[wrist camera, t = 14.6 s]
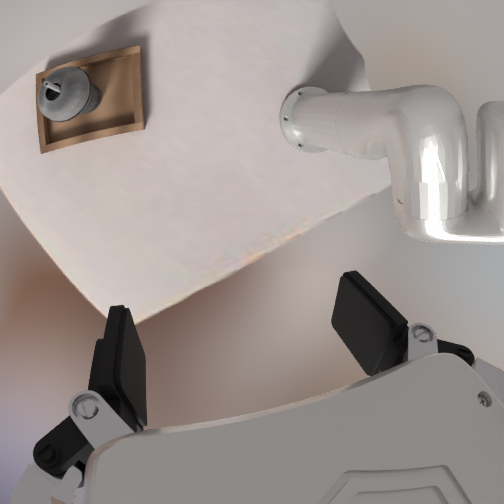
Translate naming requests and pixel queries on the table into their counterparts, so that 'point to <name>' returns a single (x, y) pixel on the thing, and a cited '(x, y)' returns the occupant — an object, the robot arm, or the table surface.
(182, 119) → the table surface
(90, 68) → the walnut tray
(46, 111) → the beverage cup
